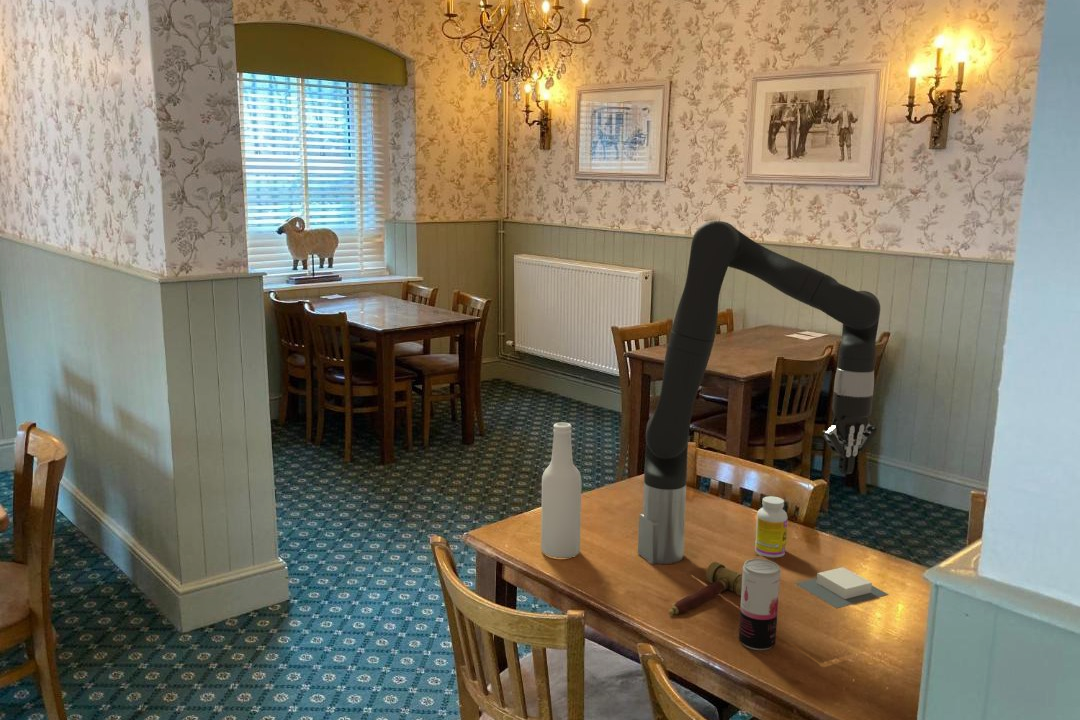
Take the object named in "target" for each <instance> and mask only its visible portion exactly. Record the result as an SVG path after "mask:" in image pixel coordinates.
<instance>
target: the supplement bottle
mask: <svg viewBox="0 0 1080 720" xmlns="http://www.w3.org/2000/svg"><path fill="white" fill-rule="evenodd" d="M761 504H762V507H760V509H758V511H757V514H756V527H755V542H754V551H755V553H756V554H757V555H758V556H759V557H760V556H763V557H766V558H780V557H783V556H784V555H785V554H786V545H787V531H788V530H787V529H788V514H787V513H788V512H786V511H785V510H784V509H783V508H784V507H785V500H784V499H783V498H781V497H777V496H771V495H769V496H765V497H763V498H762V503H761Z"/></svg>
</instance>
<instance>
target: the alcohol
mask: <svg viewBox="0 0 1080 720" xmlns="http://www.w3.org/2000/svg"><path fill="white" fill-rule="evenodd" d="M572 427H573V426H572V424H571V423H569V422H563V421H561V422H556V423H554V424H553V429H552V431H553V432H552V433H553V438H552V439H553V440H552V449H551V451H552V452H551V460H550V463H549V465H548V466H547V467H546V468H545V470H544V471H543V473H542V477H541V526H540V527H541V528H540V529H541V530H540V531H541V534H540V535H541V536H540V537H541V538H540V541H541V543H540V550H541V552H542V553H543V555H544V554H546V555H548V556H551V557H556V558H570V557H573V556H575V557H577V556H578V554H579V553H580V551H581V529H582V528H581V527H582V526H581V524H582V523H581V522H582V518H581V516H582V514H581V513H582V475H581V472H580V470H579V469H578V468H577V467H576V466H575V465H574V461H573V447H572V432H573V431H572Z"/></svg>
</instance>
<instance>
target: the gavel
mask: <svg viewBox="0 0 1080 720" xmlns="http://www.w3.org/2000/svg"><path fill="white" fill-rule="evenodd" d="M742 574H743V573H742ZM742 574H741V573H739V572H737V571H735V570H732V569H730V568H727V567H726V566H725V565H724V564H721V563H719V562H717V561H713V562H711V563H710V564H708V567H707V569H706V572H705V581H707V582H709V584H708V585H705V586H704V587H702V588H701V589H698V590H695V592H693V593H690V594H689V595H687V596H685V597H683V598H682V599H679V600H677V601H676V602H675V604H674V605H673V606H672V607H671V609H669V610H668V615H670V616H673V615H682V614H685V613H687V612H689V611H690V610H691V611H692V609H694V608H696V607H698V606H700V605H702V604H704V603H706V602H708V601H710V600H712V599H714V598H715V597H716V596H718V595H720V594H721V593H723V592H724V591H725V590H729V591H731V592H734V593H736V595H738V596H740V597H741V591H742Z"/></svg>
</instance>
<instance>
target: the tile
mask: <svg viewBox="0 0 1080 720" xmlns="http://www.w3.org/2000/svg"><path fill="white" fill-rule="evenodd" d="M816 578H817V583H818V584H819V585H821V586H823V587H825V588H826V589H828V590H830V591H831V592H833V593H835V594H837V595H838V596H840V597H842V598H844V599H848V598H852V597H856V596H860V595H864V594H868V593H871V586H873V585H872V584H873V583H872V581H870V580H868V579H866V578H864V577H863V576H861V575H858V574H857V573H854V572H853V571H851V570H849V569H848V568H846V567H838V568H833V569H829V570H825V571H821V572H817V573H816Z"/></svg>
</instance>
